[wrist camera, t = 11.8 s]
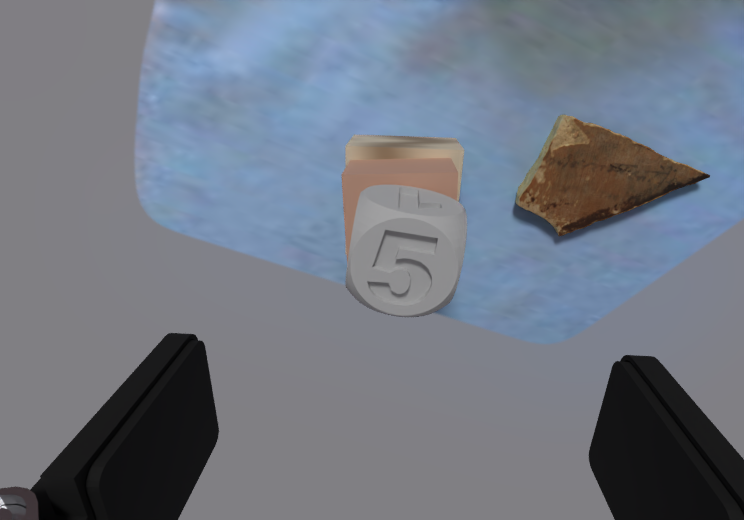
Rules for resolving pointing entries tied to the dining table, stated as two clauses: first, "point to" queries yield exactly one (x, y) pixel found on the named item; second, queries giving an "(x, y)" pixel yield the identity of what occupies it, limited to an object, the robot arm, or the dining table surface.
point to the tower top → (395, 180)
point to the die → (406, 250)
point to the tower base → (405, 149)
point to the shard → (596, 176)
